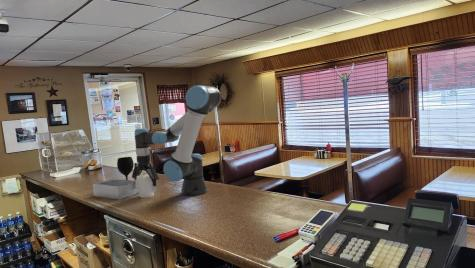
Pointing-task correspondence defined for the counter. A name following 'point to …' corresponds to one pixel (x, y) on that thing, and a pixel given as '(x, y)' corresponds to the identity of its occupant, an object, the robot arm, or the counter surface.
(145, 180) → the white box
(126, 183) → the steel trough
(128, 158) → the wine glass
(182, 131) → the robot arm
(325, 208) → the counter surface
